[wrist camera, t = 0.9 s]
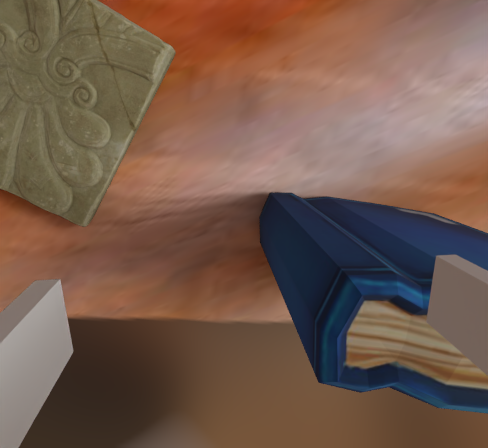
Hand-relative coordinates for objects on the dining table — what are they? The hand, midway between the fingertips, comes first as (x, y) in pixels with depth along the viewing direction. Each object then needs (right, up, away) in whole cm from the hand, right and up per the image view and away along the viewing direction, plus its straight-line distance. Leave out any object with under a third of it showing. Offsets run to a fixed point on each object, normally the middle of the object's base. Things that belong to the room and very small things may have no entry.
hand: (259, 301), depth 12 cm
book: (+11, +2, +29) cm, 31 cm away
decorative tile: (-20, +16, +22) cm, 33 cm away
